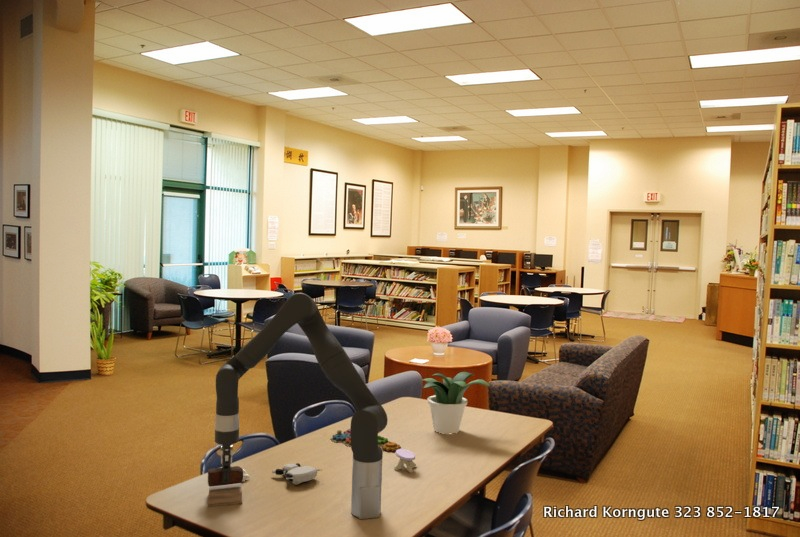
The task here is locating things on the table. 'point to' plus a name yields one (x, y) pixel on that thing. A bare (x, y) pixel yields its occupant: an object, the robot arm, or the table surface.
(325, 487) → the table surface
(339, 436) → the gear puzzle
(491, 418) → the table surface
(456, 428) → the potted plant
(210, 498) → the base brick
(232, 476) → the brick
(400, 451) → the toy table
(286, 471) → the robot toy
